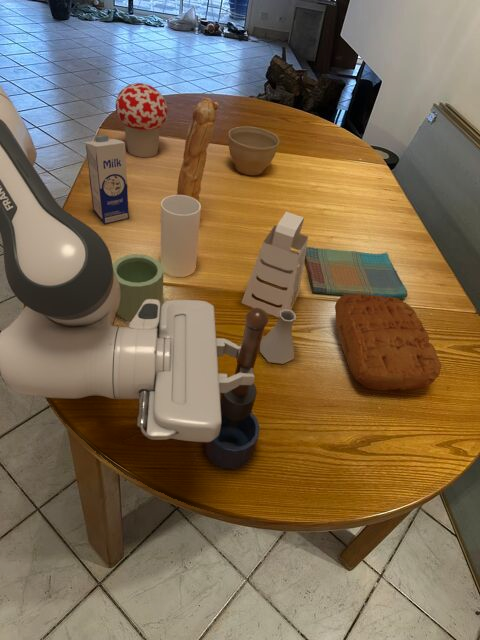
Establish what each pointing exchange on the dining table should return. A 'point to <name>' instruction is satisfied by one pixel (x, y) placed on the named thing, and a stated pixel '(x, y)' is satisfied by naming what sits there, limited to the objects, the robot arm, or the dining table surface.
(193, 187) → the sculpture
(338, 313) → the cuneiform tablet
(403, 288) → the dish towel
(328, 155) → the dining table surface
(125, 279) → the jar
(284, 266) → the grater
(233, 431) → the holder
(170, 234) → the cup
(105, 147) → the milk carton
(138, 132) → the decorative object
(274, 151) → the planter bowl
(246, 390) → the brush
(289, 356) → the flask
